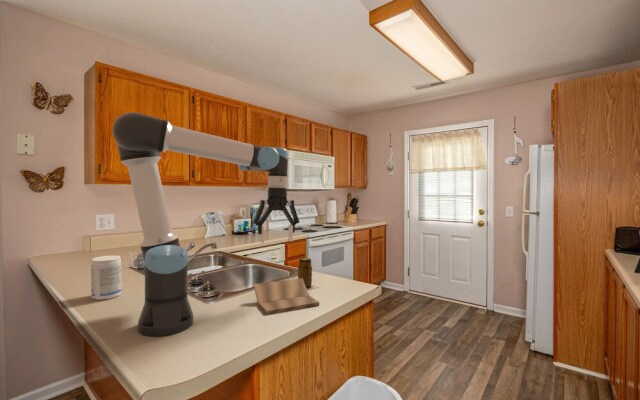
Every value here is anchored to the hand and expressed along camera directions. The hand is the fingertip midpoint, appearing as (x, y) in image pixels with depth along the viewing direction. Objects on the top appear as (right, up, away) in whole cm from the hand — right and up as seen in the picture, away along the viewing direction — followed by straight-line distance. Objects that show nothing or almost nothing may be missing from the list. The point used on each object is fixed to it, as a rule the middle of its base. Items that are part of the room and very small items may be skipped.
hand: (276, 241), depth 126 cm
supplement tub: (-63, -20, -7) cm, 67 cm away
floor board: (+7, -22, -13) cm, 26 cm away
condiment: (+11, -21, +10) cm, 26 cm away
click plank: (+3, -19, -5) cm, 19 cm away
